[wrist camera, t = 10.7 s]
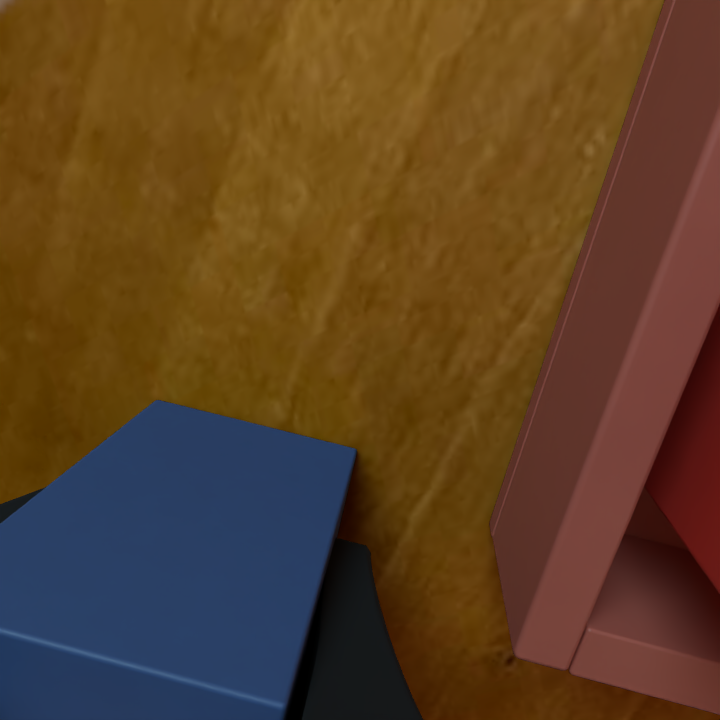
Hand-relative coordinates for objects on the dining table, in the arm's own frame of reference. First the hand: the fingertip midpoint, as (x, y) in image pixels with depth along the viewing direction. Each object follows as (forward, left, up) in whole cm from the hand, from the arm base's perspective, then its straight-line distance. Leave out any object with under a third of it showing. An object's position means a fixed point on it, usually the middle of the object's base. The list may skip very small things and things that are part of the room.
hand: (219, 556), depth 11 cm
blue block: (0, 0, -1) cm, 1 cm away
